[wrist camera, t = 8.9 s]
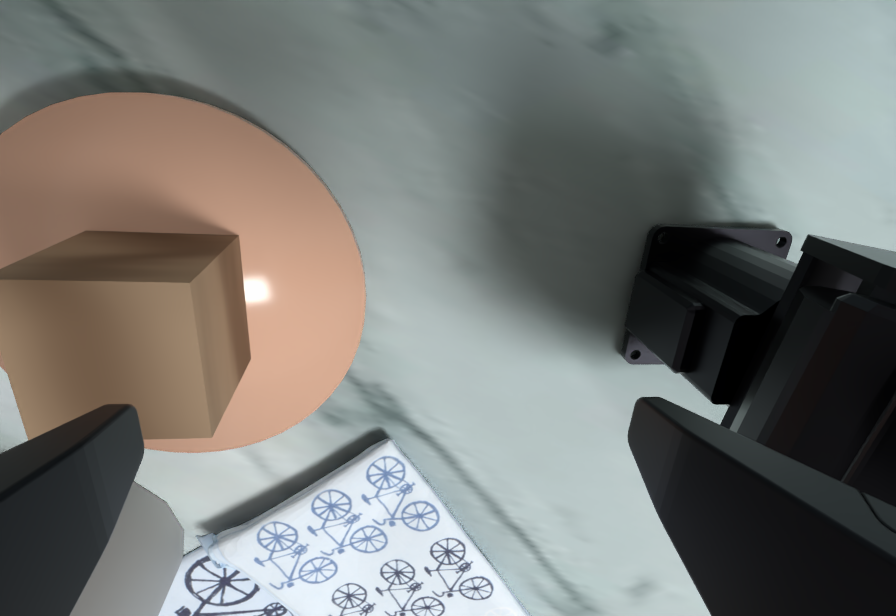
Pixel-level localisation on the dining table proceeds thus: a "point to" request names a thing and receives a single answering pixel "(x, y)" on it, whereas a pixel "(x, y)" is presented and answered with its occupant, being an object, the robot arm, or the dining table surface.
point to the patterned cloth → (345, 553)
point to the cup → (135, 560)
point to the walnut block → (127, 330)
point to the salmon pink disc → (201, 232)
